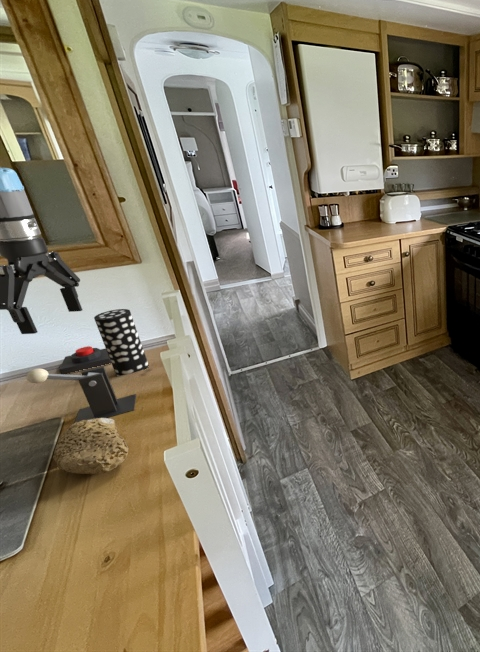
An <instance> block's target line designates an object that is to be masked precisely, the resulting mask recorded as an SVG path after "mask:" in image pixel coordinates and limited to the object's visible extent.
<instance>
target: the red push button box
mask: <svg viewBox="0 0 480 652" xmlns="http://www.w3.org/2000/svg"><path fill="white" fill-rule="evenodd" d="M92 349H93V351H94V352H93V353H91V354H89V355H85V356H77V354H76V352H75V351H74V353H72V354H71V355H67V356H65V357H64V358H63V360H62V362H61V365H60V367H59V368H58V371H59V374H65V375H71V373H70V372H74V373H76V372H75V371H78V372H79V373H80V371H79V370H82V371H84V370H83V369H87V370H89V369H88V368H91V369H93V368H92V367H96V368H98V367H97V366H100V367H102V366H101V365H104V367H105V366H106V365H105V364H109V363H111V361H110V358H109V355H108V353H107V350H106V348H105V347H104V348H98V347H92ZM109 365H110V364H109ZM82 371H81V372H82ZM78 372H77V373H78ZM67 373H69V374H67Z"/></svg>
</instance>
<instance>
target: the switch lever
mask: <svg viewBox="0 0 480 652" xmlns="http://www.w3.org/2000/svg"><path fill="white" fill-rule="evenodd" d="M95 374H99V373H90V372H88V375H87V376H91V375H95ZM102 374H103V373H102ZM82 377H86V376H83V375H82V374H65V375H64V374H61V373H49V371H48V370H46V369H44V368H34V369H31V370H30V371H28V373H26V380H27V381H28V382H29V383H31V384H41V383H44V382H45V381H47V380H54V381H55V380H56V381H57V380H59V381H75V382H77V381H78V382H79V378H82Z"/></svg>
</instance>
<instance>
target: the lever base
mask: <svg viewBox="0 0 480 652" xmlns="http://www.w3.org/2000/svg"><path fill="white" fill-rule="evenodd" d="M88 372H90V373H99V374H95V375H91V376H87V375H88ZM102 373H103V374H102ZM80 375H83V376H86V377H82V378H79V381H78V382H79V385H80V387H81V389H82V392H83V394H84V396H85V398H86V401H87V403H88V405H89V406H85V407H82V408H79V409H78V411H77V415H76V418H75V421H74V423H76V422H80V421H82V420H90V419H97V418H108V419H110V418H113V417H117V416H121V415H123V414H128V413H131V412H134V411H135V410H136V409H135V408H136V401H137V394H136V393H134V394H130V395H126V396H124V397H119V398H117V396H116V392H115V390H114V388H113V386H112V385H113V384H112V383H111V380H110V378H109V375H108V372H107V370H106V368H105V366H101V367H96V368H92V369H87V370H83V371H80Z"/></svg>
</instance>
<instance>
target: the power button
mask: <svg viewBox="0 0 480 652" xmlns="http://www.w3.org/2000/svg"><path fill="white" fill-rule="evenodd" d="M92 348H93V346H89V345H88V346H82V347H79V348H78V349H76V350H75V351H74V353H75V352H76V354H77V356H85V355H89V354H91V353H93V352H94V351H93V349H92Z"/></svg>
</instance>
